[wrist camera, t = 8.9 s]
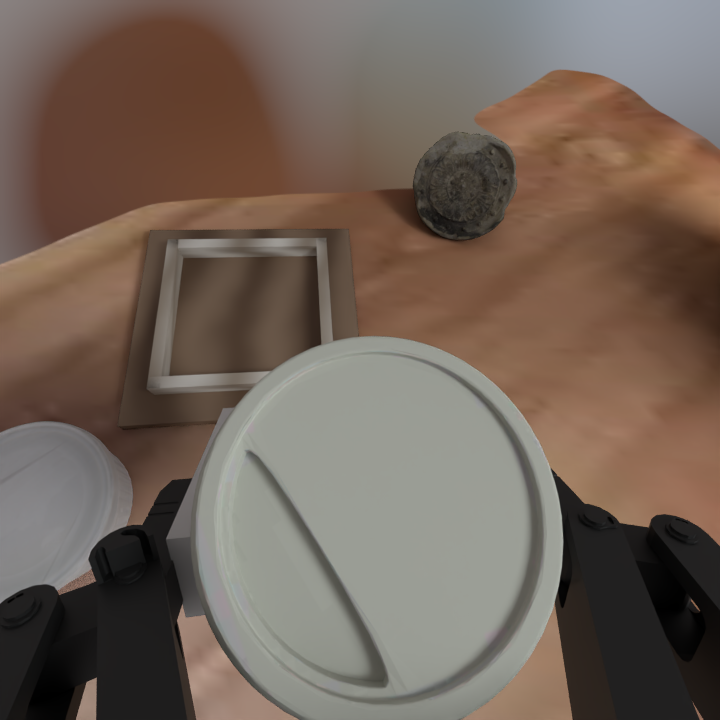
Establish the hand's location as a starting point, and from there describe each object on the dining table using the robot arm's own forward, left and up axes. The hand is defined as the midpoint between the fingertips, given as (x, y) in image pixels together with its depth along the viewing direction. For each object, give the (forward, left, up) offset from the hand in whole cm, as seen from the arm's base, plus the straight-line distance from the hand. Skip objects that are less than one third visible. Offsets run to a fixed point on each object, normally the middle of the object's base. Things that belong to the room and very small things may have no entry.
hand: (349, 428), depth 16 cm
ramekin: (+20, +1, -17) cm, 26 cm away
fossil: (-15, -29, -17) cm, 36 cm away
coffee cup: (0, +3, -4) cm, 6 cm away
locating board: (+7, -15, -17) cm, 24 cm away
